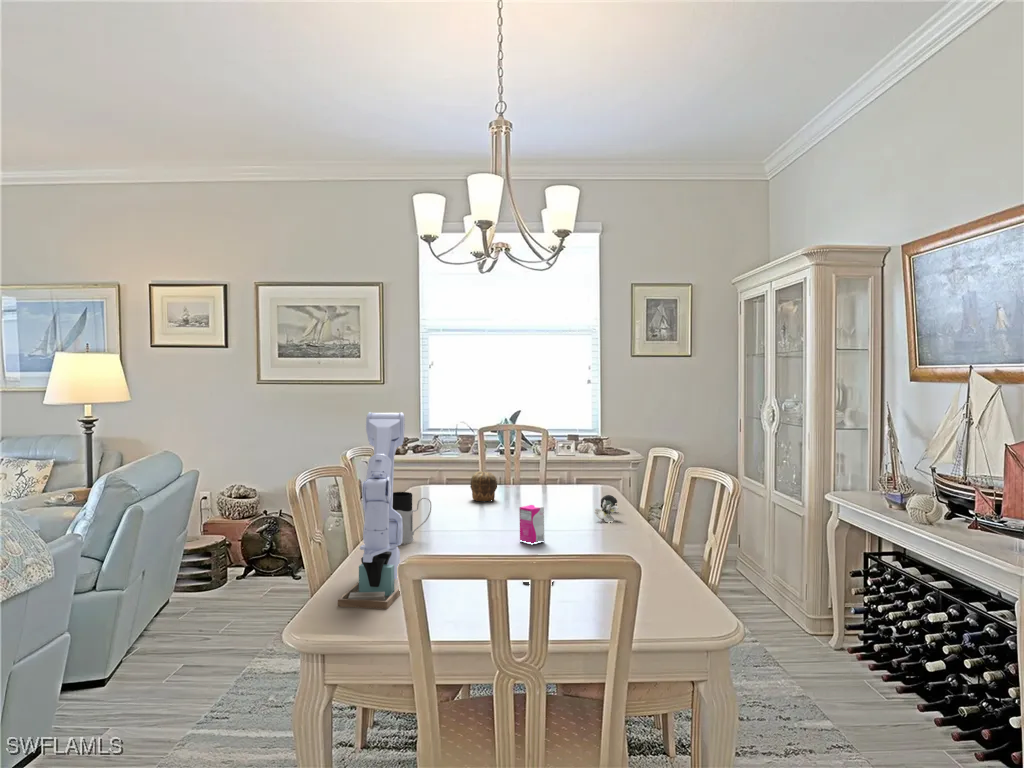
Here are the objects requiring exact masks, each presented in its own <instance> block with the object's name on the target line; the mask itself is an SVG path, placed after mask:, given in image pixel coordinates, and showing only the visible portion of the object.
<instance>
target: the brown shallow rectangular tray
mask: <svg viewBox="0 0 1024 768" xmlns="http://www.w3.org/2000/svg"><path fill="white" fill-rule="evenodd" d="M355 592H359V581H358V582H356V583H354V585H352V587H350V588H349V589H348V590H347V591H345V593H343V594H342V596H340V597H339V598H337V607H343V608H344V607H346V608H358V609H359V608H362V609H363V608H365V609H379V610H380V609H383V610H387V609H389V608H390V606H392V605H393V604H394V602H395V601H396V600H397V599H398V598H399V597H400V595H401V594H400V591H399V586H398V587H397V588H396V589H394V592H393V593H392V595H391V596H388V598H387V599H385V601H376V600H356V599H349V595H350V593H355Z"/></svg>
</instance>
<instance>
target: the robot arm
mask: <svg viewBox="0 0 1024 768" xmlns="http://www.w3.org/2000/svg"><path fill="white" fill-rule="evenodd" d="M405 421H406V418H405V414H404V412H402V411H401V412H372V411H369V412H368V413H367V415H366V420H365V432H366V434H367V441H368V442H369V445H370V446H372V447H373V455H372V456H370V458H369V459H368V460H367V461H368V463H367V468H366V469H367V470H366V479H365V480H363V482H362V486H361V487H362V488H361V495H362V496H361V497H362V502H363V504H362V505H363V511H364V525H363V531H362V532H363V533H362V536H363V537H362V539H363V544H361V545H360V546H359V550H361V551H363V554H362V557H360V561H361V564H363V565H364V567H365V569H366V572H367V576H368V580H369V584H370V587H379V585H380V580H381V572H382V568H383V565H384V564H387V565H394V580H398V579H397V566H398V564H399V563H400V564H401V553H400V552H401V551H400V548H399V547H398V546H401V545H402V544H401V543H402V539H403V524H402V517H401V515H400V514H399V513H398V512H396V511H395V510H394V509H393V508H392V506H393V492H394V476H395V475H394V474H395V456H396V451H397V448H399V447H401V446H403V444H404V441H405V429H406V428H405V427H406V426H405V425H406V424H405V423H406V422H405Z"/></svg>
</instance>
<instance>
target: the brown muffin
mask: <svg viewBox="0 0 1024 768" xmlns="http://www.w3.org/2000/svg"><path fill="white" fill-rule="evenodd" d="M469 487H470V489H471V492H472V493H471V497H472V500H473V501H475V500H476V501H475V502H477V501H491V500H495V497H496V496H495V495H496V490H497V489H498V481H497V478H496V476H495V475H494V474H493V472H487V471H484V472H483V471H476V472H474V473H473V474H472V476H471V479H470V486H469ZM491 502H492V501H491Z"/></svg>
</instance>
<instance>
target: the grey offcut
mask: <svg viewBox="0 0 1024 768" xmlns="http://www.w3.org/2000/svg"><path fill="white" fill-rule="evenodd" d="M349 599H356V600H376V601H386V596H385V592H359V591H357V592H355V593H350V595H349Z"/></svg>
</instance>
